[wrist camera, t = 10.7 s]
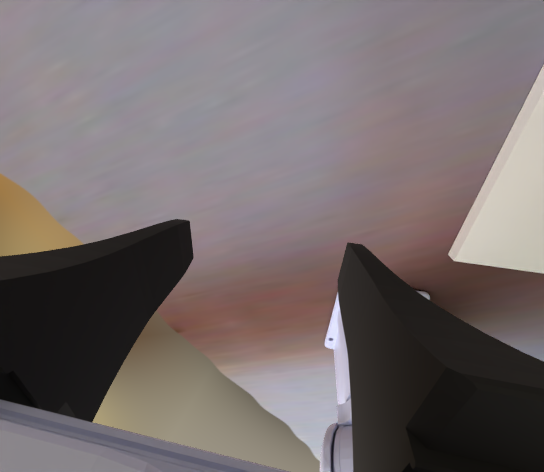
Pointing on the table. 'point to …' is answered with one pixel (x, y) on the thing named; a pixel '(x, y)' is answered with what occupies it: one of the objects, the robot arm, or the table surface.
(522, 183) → the mounting plate
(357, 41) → the table surface
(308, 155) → the table surface
